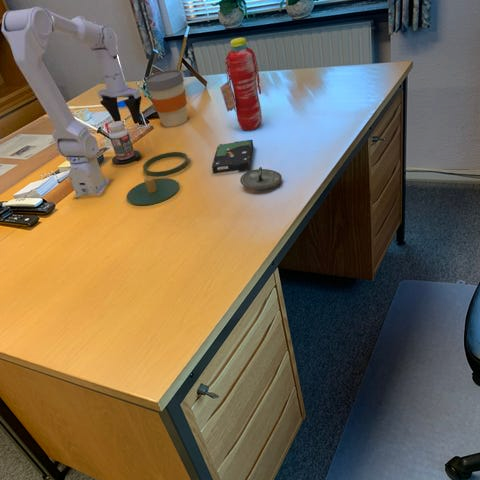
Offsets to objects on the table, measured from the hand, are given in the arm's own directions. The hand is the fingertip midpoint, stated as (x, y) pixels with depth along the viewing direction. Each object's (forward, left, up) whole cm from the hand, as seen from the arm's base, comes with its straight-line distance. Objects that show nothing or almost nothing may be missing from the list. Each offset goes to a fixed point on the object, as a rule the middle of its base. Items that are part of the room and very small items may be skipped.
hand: (127, 122), depth 146 cm
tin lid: (-30, -13, -9) cm, 34 cm away
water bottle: (+9, -34, -10) cm, 37 cm away
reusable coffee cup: (+24, -7, -10) cm, 27 cm away
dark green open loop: (-14, -13, -10) cm, 21 cm away
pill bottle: (-5, +2, -9) cm, 10 cm away
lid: (-31, -42, -10) cm, 53 cm away
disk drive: (-15, -33, -10) cm, 38 cm away
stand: (-5, +2, -10) cm, 11 cm away
